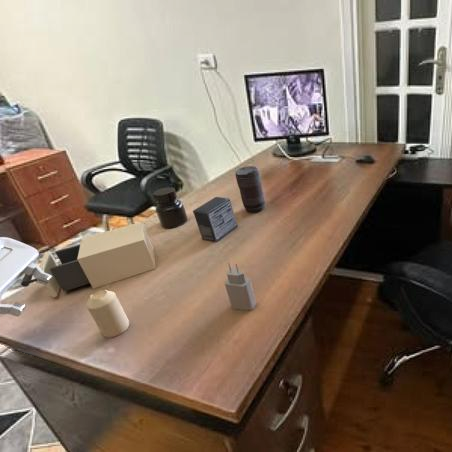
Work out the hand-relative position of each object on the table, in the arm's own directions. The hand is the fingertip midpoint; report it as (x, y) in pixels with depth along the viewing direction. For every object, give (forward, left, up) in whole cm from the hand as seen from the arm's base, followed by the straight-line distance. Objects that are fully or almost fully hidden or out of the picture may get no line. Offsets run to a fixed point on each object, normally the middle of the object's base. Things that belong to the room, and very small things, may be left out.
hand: (36, 295), depth 70 cm
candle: (+10, -1, -14) cm, 17 cm away
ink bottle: (+28, +47, -14) cm, 56 cm away
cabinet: (+12, +26, -13) cm, 31 cm away
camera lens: (+55, +39, -14) cm, 68 cm away
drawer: (0, +26, -12) cm, 28 cm away
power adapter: (+37, -10, -14) cm, 40 cm away
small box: (+40, +29, -14) cm, 51 cm away
